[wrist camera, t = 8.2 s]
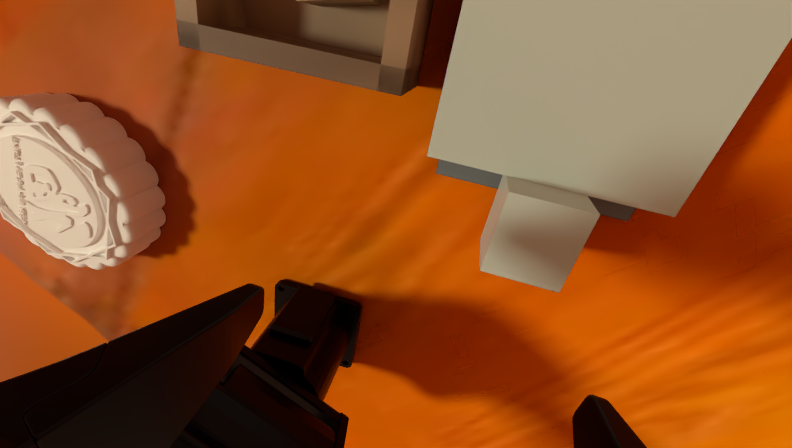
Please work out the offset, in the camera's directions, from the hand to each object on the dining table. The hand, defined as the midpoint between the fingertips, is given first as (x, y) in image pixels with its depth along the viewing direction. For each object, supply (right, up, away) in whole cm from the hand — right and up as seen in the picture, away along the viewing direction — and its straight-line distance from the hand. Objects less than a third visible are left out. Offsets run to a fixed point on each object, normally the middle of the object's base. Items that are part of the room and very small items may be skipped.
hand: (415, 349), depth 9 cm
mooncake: (-22, +7, +16) cm, 29 cm away
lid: (+7, +10, +6) cm, 14 cm away
